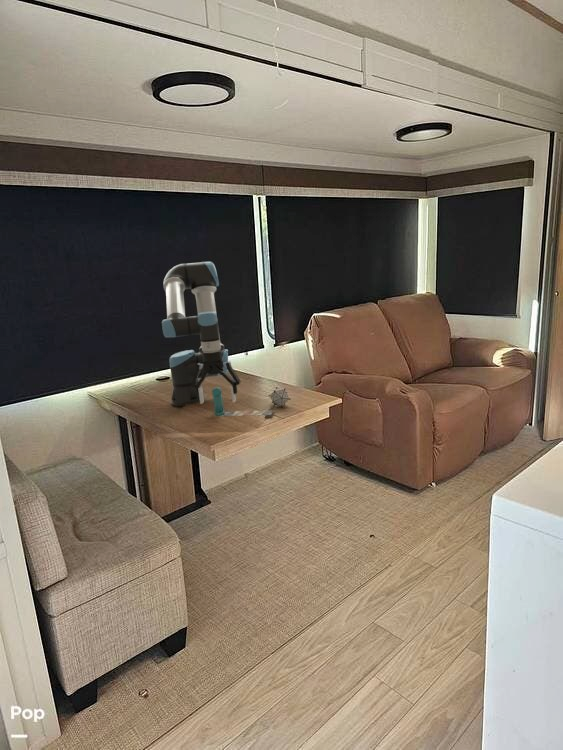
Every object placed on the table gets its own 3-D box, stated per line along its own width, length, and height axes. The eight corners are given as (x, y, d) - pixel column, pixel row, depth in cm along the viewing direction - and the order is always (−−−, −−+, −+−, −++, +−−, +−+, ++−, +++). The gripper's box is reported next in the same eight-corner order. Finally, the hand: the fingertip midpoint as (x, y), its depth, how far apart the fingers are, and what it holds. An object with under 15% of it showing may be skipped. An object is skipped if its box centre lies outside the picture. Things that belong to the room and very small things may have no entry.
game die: (279, 416, 211) (267, 402, 205) (273, 404, 218) (261, 390, 212) (296, 404, 211) (285, 389, 204) (290, 392, 217) (279, 378, 211)
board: (213, 419, 203) (212, 416, 203) (217, 414, 209) (217, 411, 208) (271, 417, 199) (270, 414, 198) (273, 412, 204) (273, 409, 204)
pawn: (213, 415, 203) (209, 388, 201) (216, 412, 207) (212, 385, 205) (223, 415, 203) (219, 388, 200) (226, 412, 207) (222, 385, 204)
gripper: (178, 354, 197) (185, 406, 202) (239, 351, 193) (245, 403, 198) (185, 351, 204) (192, 400, 209) (244, 347, 200) (250, 398, 205)
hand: (218, 402), depth 203 cm, fingers open, 13 cm apart
